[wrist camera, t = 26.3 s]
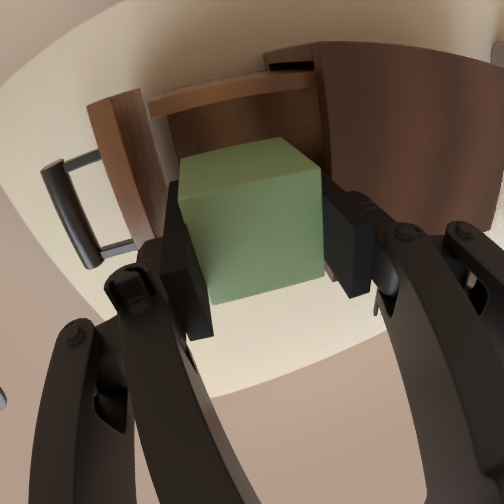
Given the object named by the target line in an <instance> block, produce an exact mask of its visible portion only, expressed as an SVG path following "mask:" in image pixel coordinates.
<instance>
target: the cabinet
mask: <svg viewBox="0 0 504 504" xmlns="http://www.w3.org/2000/svg"><path fill="white" fill-rule="evenodd" d="M264 60H265V66H266V71H273V70H282V69H292V68H304V67H314V68H315V75H316V84H317V92H318V101H319V111H320V121H321V133H322V145H323V159H324V173H325V174H326V175H327V176H328V177H329V178H330V179H332V180H333V181H334V182H335V183H336V184H337V185H339V186H340V187H341V188H342V189H343V190H344V191H345V192H348V191H353V190H355V191H358V192H360V193H362V194H365V195H366V196H368V197H369V198H370V199H371V200H372V201H373V202H375V203H376V204H377V205H378V206H379V208H380V207H381V208H382V209H383V210H384V211H385V212H386V213H387V214H389V215H390V216H391V217H392V218H393V219H394V220H395V221H396V222H406V223H411V224H414V225H416V226H418V227H420V228H421V229H422V230H423V231H424V232H425V233H426V234H427V235H445V230H446V226H447V224H448V223H450V222H451V221H465V222H467V223H469V224H471V225H473V226H475V227H476V228H477V229H479V230H480V231H481V232H482V233H483V232H486V231H488V230H490V229H491V225H492V221H493V217H494V214H495V210H496V205H497V201H498V197H499V192H500V187H501V182H502V177H503V171H504V68H503V67H500V66H497V65H494V64H491V63H487V62H484V61H480V60H476V59H473V58H469V57H465V56H460V55H456V54H451V53H447V52H442V51H436V50H431V49H425V48H418V47H411V46H403V45H395V44H384V43H371V42H349V41H319V42H313V43H307V44H302V45H297V46H292V47H287V48H282V49H278V50H274V51H270V52H265V53H264ZM324 269H325V270H326V272H327V274H328V276H329V277H330V279H331V281H332V282H335V281H338V280H337V278H336V277H335V275H334V274H333V272H332V270H331V269H330V267H329V266H328V264H327V263H326V261H325V260H324Z"/></svg>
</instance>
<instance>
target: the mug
mask: <svg viewBox="0 0 504 504" xmlns="http://www.w3.org/2000/svg"><path fill="white" fill-rule="evenodd" d="M491 64H494V65H497V66H500V67H503V68H504V41H503V42H497V43H495V44H494V45H493V47H492V51H491Z"/></svg>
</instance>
